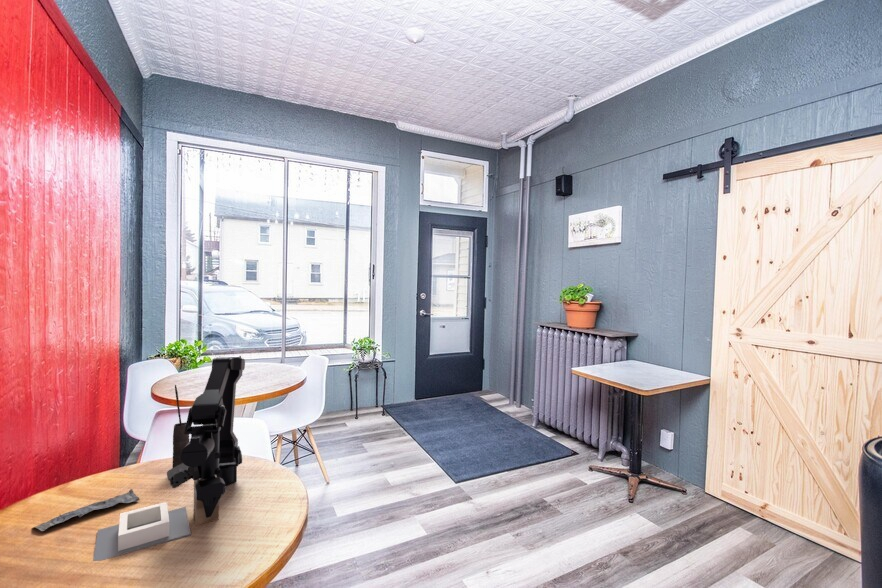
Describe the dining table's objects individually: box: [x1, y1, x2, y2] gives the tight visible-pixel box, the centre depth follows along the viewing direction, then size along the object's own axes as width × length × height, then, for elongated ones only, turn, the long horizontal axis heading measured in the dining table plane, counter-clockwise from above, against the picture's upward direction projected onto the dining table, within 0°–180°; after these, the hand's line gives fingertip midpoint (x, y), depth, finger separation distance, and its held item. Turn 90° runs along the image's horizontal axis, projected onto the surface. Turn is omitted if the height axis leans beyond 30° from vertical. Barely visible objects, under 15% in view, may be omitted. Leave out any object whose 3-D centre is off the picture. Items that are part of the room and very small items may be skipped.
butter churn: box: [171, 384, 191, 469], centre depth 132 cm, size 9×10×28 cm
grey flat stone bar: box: [33, 488, 140, 532], centre depth 105 cm, size 21×7×2 cm, turn 144°
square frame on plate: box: [92, 501, 192, 562], centre depth 97 cm, size 18×14×4 cm
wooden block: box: [193, 475, 220, 526], centre depth 105 cm, size 5×6×10 cm
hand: (206, 508), depth 105 cm, fingers open, 9 cm apart
